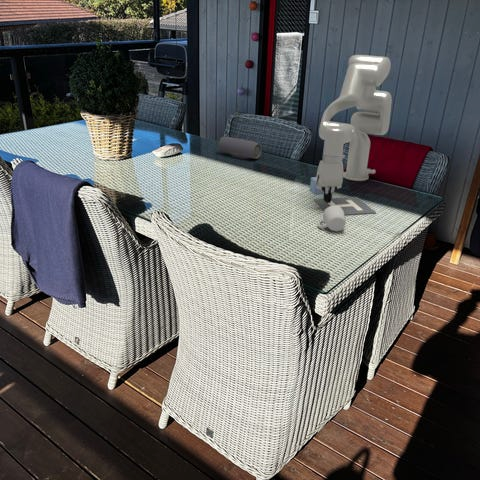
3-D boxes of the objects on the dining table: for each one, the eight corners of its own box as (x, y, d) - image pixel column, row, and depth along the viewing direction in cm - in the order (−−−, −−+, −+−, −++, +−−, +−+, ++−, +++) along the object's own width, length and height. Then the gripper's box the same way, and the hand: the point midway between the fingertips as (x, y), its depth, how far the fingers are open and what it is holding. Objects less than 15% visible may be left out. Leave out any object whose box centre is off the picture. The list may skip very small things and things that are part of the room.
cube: (322, 189, 221) (323, 176, 218) (327, 193, 215) (328, 181, 213) (309, 189, 219) (311, 177, 217) (314, 194, 214) (315, 181, 212)
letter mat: (356, 197, 212) (356, 196, 211) (376, 213, 196) (376, 212, 196) (313, 200, 207) (313, 199, 207) (330, 216, 192) (330, 215, 191)
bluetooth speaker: (261, 158, 262) (262, 140, 258) (252, 162, 255) (253, 144, 251) (227, 151, 273) (227, 134, 269) (217, 155, 266) (217, 137, 262)
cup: (316, 223, 176) (312, 213, 183) (323, 240, 180) (320, 229, 186) (343, 211, 173) (339, 201, 180) (351, 229, 177) (346, 218, 184)
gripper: (345, 155, 196) (340, 197, 204) (311, 156, 192) (306, 199, 200) (353, 160, 189) (347, 204, 197) (318, 161, 186) (313, 206, 194)
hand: (327, 201), depth 199 cm, fingers closed
